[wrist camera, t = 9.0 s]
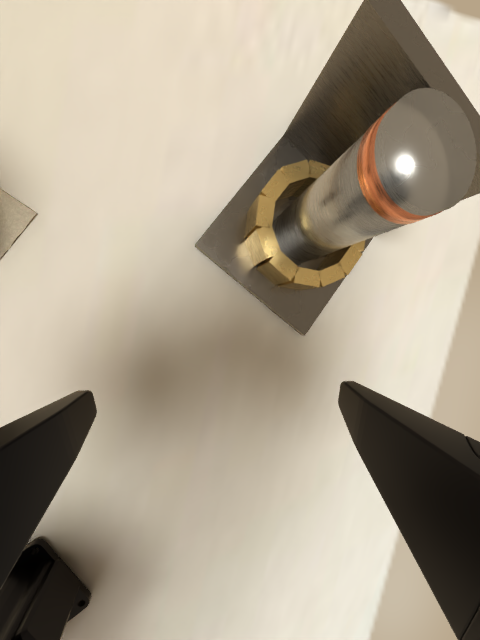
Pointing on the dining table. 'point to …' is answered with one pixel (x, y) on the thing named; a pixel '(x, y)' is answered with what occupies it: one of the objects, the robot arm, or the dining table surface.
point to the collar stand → (326, 159)
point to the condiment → (12, 220)
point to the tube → (384, 178)
